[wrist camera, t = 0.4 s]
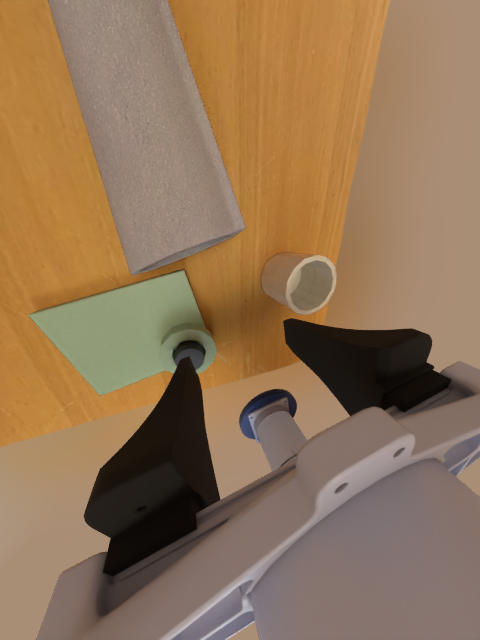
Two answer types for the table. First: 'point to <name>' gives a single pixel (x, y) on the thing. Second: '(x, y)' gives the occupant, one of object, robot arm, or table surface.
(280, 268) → the cup
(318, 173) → the table surface
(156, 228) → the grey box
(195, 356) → the button
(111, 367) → the scale
